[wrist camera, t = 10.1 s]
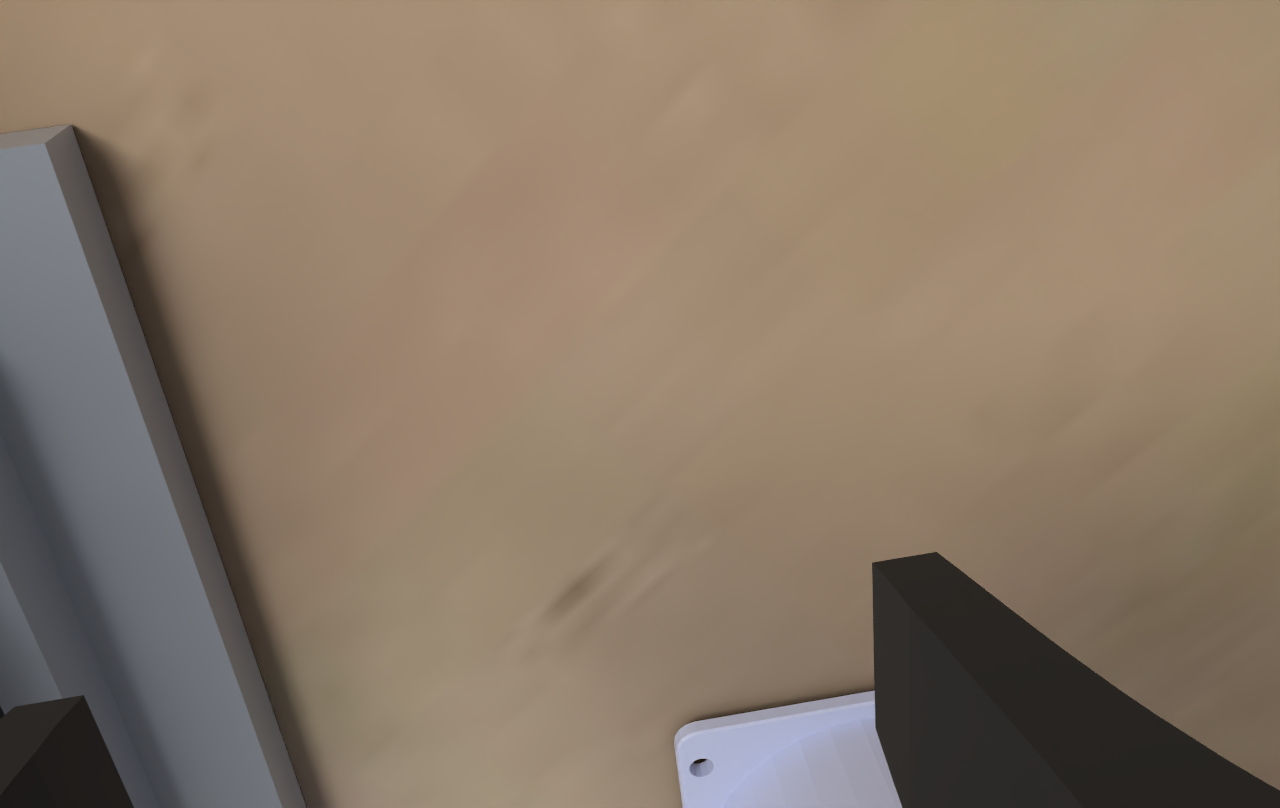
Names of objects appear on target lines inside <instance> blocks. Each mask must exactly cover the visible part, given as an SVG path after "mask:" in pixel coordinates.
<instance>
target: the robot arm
mask: <svg viewBox="0 0 1280 808" xmlns="http://www.w3.org/2000/svg"><path fill="white" fill-rule="evenodd" d="M872 575H873V628H874V681H875V691H869V692H863V693H857V694H851V695H846V696H840V697H834V698H828V699H823V700H817V701H811V702H805V703H799V704H794V705H788V706H782V707H776V708H770V709H765V710H759V711H753V712H747V713H742V714H736V715H730V716H724V717H718V718H713V719H707V720H701V721H695V722H692V723H689V724H686V725H685V726H683V727H682V728H681V729H679V730H678V732H677V734H676V735H675V739H674V747H675V754H676V762H677V770H678V777H679V785H680V792H681V800H682V808H1280V791H1279V790H1278V789H1276V788H1274V787H1272V786H1270V785H1268V784H1267V783H1265V782H1263V781H1262V780H1260V779H1258V778H1257V777H1255V776H1253V775H1251V774H1250V773H1248V772H1246V771H1245V770H1243V769H1241V768H1240V767H1238V766H1236V765H1235V764H1233V763H1231V762H1230V761H1228V760H1226V759H1225V758H1223V757H1221V756H1220V755H1218V754H1217V753H1215V752H1214V751H1212V750H1210V749H1209V748H1207V747H1206V746H1204V745H1203V744H1201V743H1199V742H1198V741H1196V740H1195V739H1193V738H1192V737H1190V736H1188V735H1187V734H1185V733H1184V732H1182V731H1181V730H1179V729H1178V728H1176V727H1174V726H1173V725H1171V724H1170V723H1168V722H1167V721H1165V720H1163V719H1162V718H1160V717H1159V716H1157V715H1156V714H1154V713H1153V712H1151V711H1150V710H1148V709H1147V708H1145V707H1144V706H1142V705H1141V704H1139V703H1138V702H1136V701H1135V700H1134V699H1132V698H1131V697H1129V696H1128V695H1126V694H1125V693H1123V692H1122V691H1120V690H1119V689H1118V688H1116V687H1115V686H1113V685H1112V684H1111V683H1109V682H1108V681H1106V680H1105V679H1104V678H1102V677H1101V676H1099V675H1098V674H1097V673H1095V672H1094V671H1092V670H1091V669H1090V668H1088V667H1087V666H1085V665H1084V664H1083V663H1081V662H1080V661H1078V660H1077V659H1076V658H1074V657H1073V656H1071V655H1070V654H1069V653H1067V652H1066V651H1065V650H1063V649H1062V648H1061V647H1059V646H1058V645H1057V644H1055V643H1054V642H1053V641H1051V640H1050V639H1049V638H1047V637H1046V636H1045V635H1043V634H1042V633H1041V632H1039V631H1038V630H1037V629H1036V628H1034V627H1033V626H1032V625H1030V624H1029V623H1028V622H1026V621H1025V620H1024V619H1022V618H1021V617H1020V616H1019V615H1017V614H1016V613H1015V612H1013V611H1012V610H1011V609H1009V608H1008V607H1007V606H1006V605H1004V604H1003V603H1002V602H1000V601H999V600H998V599H997V598H995V597H994V596H993V595H991V594H990V593H989V592H988V591H986V590H985V589H984V588H982V587H981V586H980V585H979V584H977V583H976V582H975V581H973V580H972V579H971V578H970V577H968V576H967V575H966V574H964V573H963V572H962V571H960V570H959V569H958V568H957V567H955V566H954V565H953V564H951V563H950V562H949V561H947V560H946V559H945V558H944V557H942V556H941V555H940V554H938V553H937V552H933V553H928V554H922V555H916V556H910V557H904V558H898V559H892V560H886V561H880V562H874V563H872ZM698 759H707V760H706V761H705V762H702V763H693V762H694V761H695V760H698ZM0 808H134V806H133V804H132V802H131V800H130V797H129V795H128V793H127V791H126V789H125V786H124V784H123V782H122V780H121V777H120V775H119V773H118V771H117V768H116V766H115V764H114V762H113V759H112V757H111V755H110V753H109V750H108V748H107V746H106V744H105V742H104V739H103V737H102V735H101V733H100V730H99V728H98V726H97V724H96V721H95V719H94V717H93V715H92V712H91V710H90V708H89V706H88V703H87V701H86V699H85V697H84V695H81V696H75V697H69V698H63V699H57V700H51V701H45V702H39V703H33V704H27V705H21V706H16V707H14V708H12V709H11V710H10V711H9V712H8V713H7V714H5V715H4V716H3V717H2V718H1V719H0Z"/></svg>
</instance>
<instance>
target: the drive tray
mask: <svg viewBox="0 0 1280 808" xmlns="http://www.w3.org/2000/svg"><path fill="white" fill-rule="evenodd" d="M81 695H84V697H85V699H86V701H87V703H88V706H89V708H90V710H91V712H92V715H93V717H94V719H95V721H96V724H97V726H98V728H99V730H100V733H101V735H102V737H103V739H104V742H105V744H106V746H107V748H108V750H109V753H110V755H111V757H112V759H113V762H114V764H115V766H116V768H117V771H118V773H119V775H120V777H121V780H122V782H123V784H124V786H125V789H126V791H127V793H128V795H129V797H130V800H131V802H132V804H133V806H134V808H306V805H305V802H304V799H303V796H302V793H301V790H300V787H299V784H298V782H297V779H296V776H295V773H294V770H293V767H292V764H291V761H290V758H289V755H288V752H287V750H286V747H285V744H284V741H283V738H282V735H281V732H280V729H279V726H278V723H277V721H276V718H275V715H274V712H273V709H272V706H271V703H270V700H269V697H268V694H267V691H266V689H265V686H264V683H263V680H262V677H261V674H260V671H259V668H258V665H257V662H256V660H255V657H254V654H253V651H252V648H251V645H250V642H249V639H248V636H247V633H246V631H245V628H244V625H243V622H242V619H241V616H240V613H239V610H238V607H237V604H236V601H235V599H234V596H233V593H232V590H231V587H230V584H229V581H228V578H227V575H226V572H225V570H224V567H223V564H222V561H221V558H220V555H219V552H218V549H217V546H216V543H215V540H214V538H213V535H212V532H211V529H210V526H209V523H208V520H207V517H206V514H205V511H204V509H203V506H202V503H201V500H200V497H199V494H198V491H197V488H196V485H195V482H194V479H193V477H192V474H191V471H190V468H189V465H188V462H187V459H186V456H185V453H184V450H183V448H182V445H181V442H180V439H179V436H178V433H177V430H176V427H175V424H174V421H173V418H172V416H171V413H170V410H169V407H168V404H167V401H166V398H165V395H164V392H163V389H162V387H161V384H160V381H159V378H158V375H157V372H156V369H155V366H154V363H153V360H152V357H151V355H150V352H149V349H148V346H147V343H146V340H145V337H144V334H143V331H142V328H141V326H140V323H139V320H138V317H137V314H136V311H135V308H134V305H133V302H132V299H131V296H130V294H129V291H128V288H127V285H126V282H125V279H124V276H123V273H122V270H121V267H120V265H119V262H118V259H117V256H116V253H115V250H114V247H113V244H112V241H111V238H110V236H109V233H108V230H107V227H106V224H105V221H104V218H103V215H102V212H101V209H100V206H99V204H98V201H97V198H96V195H95V192H94V189H93V186H92V183H91V180H90V177H89V175H88V172H87V169H86V166H85V163H84V160H83V157H82V154H81V151H80V148H79V145H78V143H77V140H76V137H75V134H74V131H73V128H72V125H71V124H69V125H62V126H54V127H47V128H40V129H33V130H25V131H18V132H11V133H4V134H0V706H1V708H2V710H3V712H4V714H7V713H8V712H9V711H10V710H11V709H12V708H14V707H16V706H21V705H27V704H33V703H39V702H45V701H51V700H57V699H63V698H69V697H75V696H81Z"/></svg>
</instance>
